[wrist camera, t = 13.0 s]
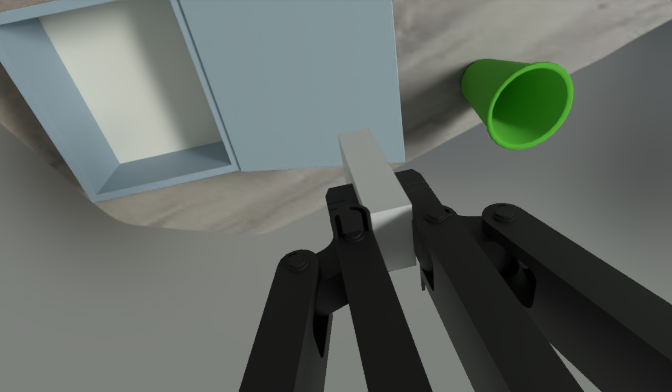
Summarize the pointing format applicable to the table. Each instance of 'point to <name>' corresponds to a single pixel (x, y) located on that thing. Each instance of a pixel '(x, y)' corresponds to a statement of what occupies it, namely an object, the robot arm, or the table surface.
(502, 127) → the cup
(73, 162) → the box
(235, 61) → the lid
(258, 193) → the table surface
